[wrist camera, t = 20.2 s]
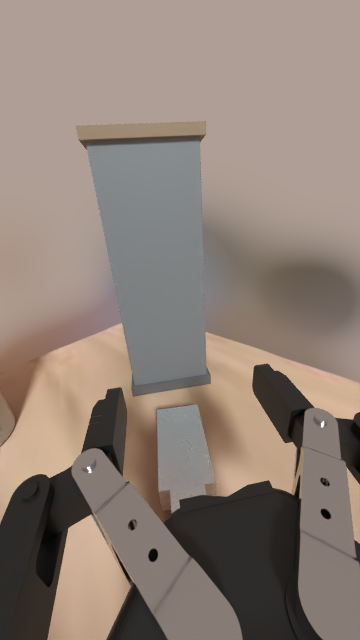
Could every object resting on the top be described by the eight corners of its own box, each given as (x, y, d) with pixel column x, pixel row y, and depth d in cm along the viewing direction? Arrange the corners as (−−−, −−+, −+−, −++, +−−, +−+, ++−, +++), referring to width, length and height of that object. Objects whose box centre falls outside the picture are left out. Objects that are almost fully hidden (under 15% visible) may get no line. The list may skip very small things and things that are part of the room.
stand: (135, 347, 46) (101, 161, 33) (192, 339, 48) (182, 157, 34) (133, 396, 34) (75, 125, 20) (210, 383, 35) (205, 121, 21)
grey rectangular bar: (159, 427, 28) (157, 409, 27) (198, 421, 29) (197, 404, 28) (168, 745, 11) (162, 739, 10) (264, 723, 12) (269, 713, 10)
